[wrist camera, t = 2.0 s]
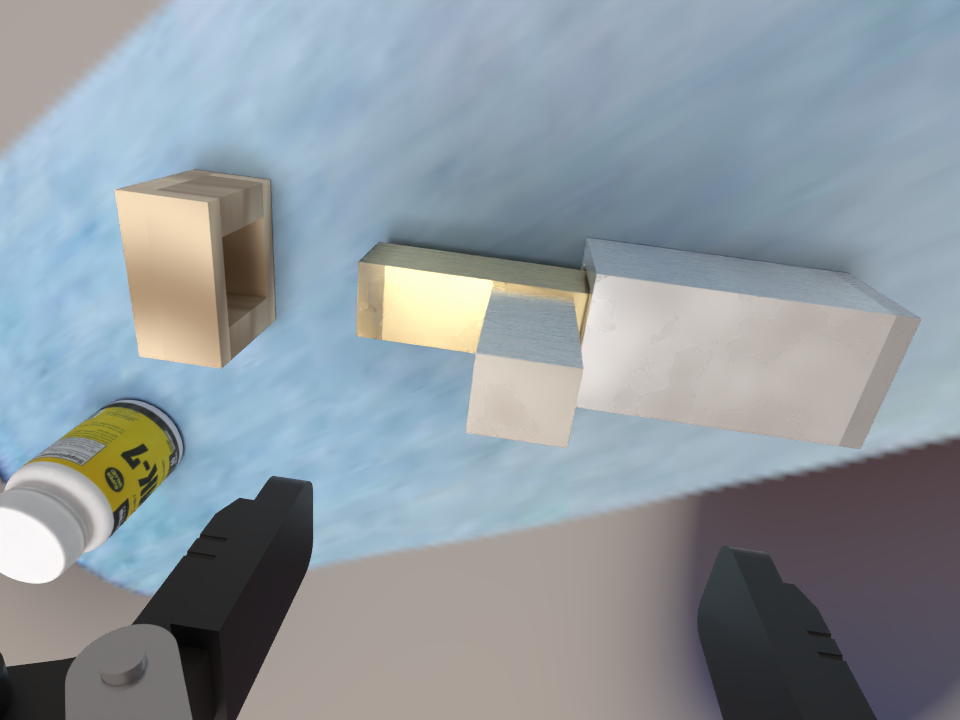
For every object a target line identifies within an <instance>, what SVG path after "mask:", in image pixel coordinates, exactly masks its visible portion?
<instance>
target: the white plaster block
mask: <svg viewBox="0 0 960 720" xmlns="http://www.w3.org/2000/svg"><path fill="white" fill-rule="evenodd" d="M581 270H584V271H587V275H588V280H589V284H590V288H591V289H590V294H589V299H588V304H587V309H586V314H585V319H584V323H583V328H582V333H581V338H580V346H581V353H582V360H583V367H584V370H583V375H582V379H581V384H580V389H579V394H578V398H577V403H576V407H578V408H585V409H591V410H598V411H605V412H612V413H618V414H625V415H632V416H639V417H645V418H652V419H659V420H666V421H673V422H679V423H686V424H693V425H700V426H706V427H713V428H720V429H727V430H734V431H740V432H747V433H754V434H761V435H767V436H774V437H781V438H788V439H794V440H801V441H808V442H815V443H822V444H828V445H835V446H842V447H849V448H855V449H861V447H862V445H863V443H864V440H865V438H866V436H867V434H868V432H869V430H870V428H871V425H872V423H873V421H874V419H875V417H876V415H877V413H878V411H879V408H880V406H881V404H882V402H883V400H884V398H885V396H886V393H887V391H888V389H889V387H890V385H891V383H892V381H893V379H894V376H895V374H896V372H897V370H898V368H899V366H900V364H901V361H902V359H903V357H904V355H905V353H906V351H907V349H908V346H909V344H910V342H911V340H912V338H913V336H914V334H915V332H916V329H917V327H918V325H919V323H920V321H921V318H919V317H917V316H916V315H914V314H913V313H911V312H910V311H908V310H906V309H905V308H903V307H902V306H900V305H898V304H897V303H895V302H894V301H892V300H890V299H889V298H887V297H886V296H884V295H883V294H881V293H879V292H878V291H876V290H875V289H873V288H871V287H870V286H868V285H867V284H865V283H863V282H862V281H860V280H859V279H857V278H856V277H854V276H852V275H851V274H849V273H843V272H836V271H828V270H821V269H814V268H806V267H799V266H792V265H784V264H777V263H770V262H762V261H755V260H748V259H741V258H733V257H726V256H719V255H711V254H704V253H697V252H689V251H682V250H675V249H667V248H660V247H653V246H645V245H638V244H631V243H624V242H616V241H609V240H602V239H594V238H587V239H586V244H585V249H584V254H583V259H582V265H581Z"/></svg>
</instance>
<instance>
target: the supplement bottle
mask: <svg viewBox="0 0 960 720" xmlns="http://www.w3.org/2000/svg"><path fill="white" fill-rule="evenodd" d="M182 453H183V445H182V440H181V437H180V434H179V432H178V430H177V428H176V426H175V425H174V423H173V422H172V421H171V420H170V418H169V417H168V416H166V415H165V414H164V413H163V412H162V411H160V410H159V409H157V408H155V407H154V406H152V405H149V404H147V403H144V402H140V401H136V400H120V401H115V402H112V403H110V404H108V405H106V406H105V407H103V408H101V409H100V410H99V411H98V412H96V413H95V414H94V415H92V416H91V417H89V418H88V419H87V420H85V421H84V422H82V423H81V424H80V425H78V426H77V427H76V428H74V429H73V430H71V431H70V432H69V433H67V434H66V435H65V436H63V437H62V438H61V439H59V440H58V441H57V442H55V443H54V444H52V445H51V446H50V447H48V448H47V449H46V450H44V451H43V452H41V453H40V454H39V455H37V456H36V457H35V458H33V459H32V460H30V461H29V462H28V463H26V464H25V465H23V466H22V467H21V468H19V470H17V471H16V472H15V473H14V474H13V475H12V476H11V478H10V479H9V481H8V482H7V485H6V487H5V491H4V492H3V493H1V494H0V572H1V573H2V574H4V575H6V576H8V577H10V578H13V579H15V580H18V581H22V582H27V583H45V582H49V581H52V580H54V579H55V578H57V577H58V576H60V575H61V574H62V573H63V572H64V571H65V570H66V569H67V568H68V567H70V566H71V565H72V564H73V563H74V562H76V561H77V560H78V559H79V558H80V556H81V555H82V553H85V552H89V551H91V550H94V549H96V548H97V547H99V546H100V545H102V544H103V543H104V542H105V541H106V540H107V539H108V538H109V537H111V536H112V535H113V533H114V532H115V531H116V530H117V529H118V528H119V527H120V526H121V525H122V524H123V523H124V522H125V521H126V520H127V519H128V518H129V516H130V515H131V514H132V513H133V512H135V511H136V509H137V508H138V507H139V506H140V505H141V504H142V503H143V502H144V501H145V500H146V499H147V498H148V497H149V496H150V495H151V494H152V493H153V492H154V490H155V489H156V488H157V487H158V486H159V485H160V484H161V483H162V482H163V481H164V480H165V479H166V478H167V477H168V476H169V475H170V474H171V473H172V471H173V470H174V469H175V468H176V467H177V466H178V464H179V462H180V460H181V458H182Z"/></svg>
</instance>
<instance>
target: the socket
mask: <svg viewBox="0 0 960 720" xmlns="http://www.w3.org/2000/svg"><path fill="white" fill-rule="evenodd" d="M115 195H116V202H117V208H118V215H119V222H120V229H121V236H122V242H123V249H124V256H125V263H126V269H127V276H128V283H129V290H130V296H131V303H132V310H133V317H134V323H135V330H136V337H137V344H138V350H139V356H140V357H147V358H154V359H160V360H167V361H174V362H180V363H187V364H194V365H201V366H207V367H214V368H221V369H222V368H223V367H224V366H225V365H226V364H227V363H228V362H229V361H230V360H232V359H233V358H234V357H235V356H236V355H237V354H238V353H239V352H241V351H242V350H243V349H244V348H245V347H246V346H247V345H248V344H250V343H251V342H252V341H253V340H254V339H255V338H256V337H257V336H258V335H260V334H261V333H262V332H263V331H264V330H265V329H266V328H267V327H269V326H270V325H271V324H272V323H273V322H274V321H275V320H276V317H275V290H274V263H273V236H272V209H271V182H270V180H268V179H261V178H253V177H246V176H239V175H231V174H224V173H216V172H209V171H202V170H190V171H187V172H183V173H179V174H175V175H171V176H167V177H163V178H159V179H155V180H151V181H147V182H143V183H139V184H135V185H131V186H127V187H124V188H120V189H116V190H115Z"/></svg>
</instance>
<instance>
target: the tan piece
mask: <svg viewBox="0 0 960 720" xmlns="http://www.w3.org/2000/svg"><path fill="white" fill-rule="evenodd" d="M590 289H591V288H590V284H589V280H588V275H587V271H584V270H577V269H570V268H563V267H556V266H548V265H541V264H534V263H527V262H520V261H512V260H505V259H498V258H491V257H484V256H476V255H469V254H462V253H455V252H448V251H440V250H433V249H426V248H419V247H412V246H404V245H397V244H390V243H383V242H378V243H377V244H376V245H375V246H374V247H373V248H372V249H371V250H370V251H369V252H368V253H367V254H366V255H365V256H364V257H363V258H362V259H361V260H360V261H359V267H358V304H357V336H359V337H366V338H373V339H380V340H387V341H394V342H401V343H408V344H415V345H421V346H428V347H435V348H442V349H449V350H456V351H463V352H470V353H475V361H474V369H473V378H472V386H471V394H470V402H469V410H468V418H467V426H466V433H471V434H478V435H485V436H491V437H498V438H505V439H511V440H518V441H525V442H531V443H538V444H544V445H551V446H558V447H564V448H567V445H568V441H569V436H570V431H571V427H572V422H573V417H574V412H575V408H576V403H577V398H578V394H579V389H580V384H581V379H582V375H583V370H584V367H583V360H582V353H581V346H580V338H581V333H582V328H583V323H584V319H585V314H586V309H587V304H588V299H589V294H590Z"/></svg>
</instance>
